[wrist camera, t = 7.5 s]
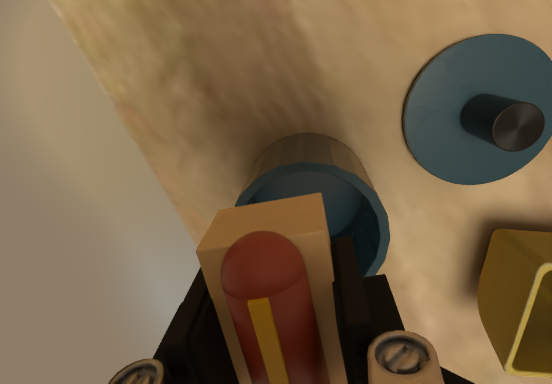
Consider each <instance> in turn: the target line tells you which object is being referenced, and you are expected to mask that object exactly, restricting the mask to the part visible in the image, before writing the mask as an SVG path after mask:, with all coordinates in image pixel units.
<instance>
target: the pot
mask: <svg viewBox="0 0 552 384" xmlns="http://www.w3.org/2000/svg"><path fill="white" fill-rule="evenodd" d="M315 193H321V194H322V199H323V205H324V210H325V216H326V221H327V226H328V232H329V237H330V243H331V244H335V242H334V239H338V238H345V237H352V242H353V246H354V250H355V254H356V258H357V263H358V267H359V271H360V275H361V277H367V276H375V275H376V273H377V272H378V270H379V269H380V267H381V266H382V264H383V263H384V260H385V258H386V254H387V250H388V246H389V242H390V231H389V223H388V216H387V213H386V211H385V209H384V207H383V205H382V203H381V201H380V199H379V197H378V195H377V193H376V191H375V189H374V187H373V185H372V183H371V181H370V179H369V177H368V175H367V173H366V171H365V169H364V167H363V165H362V163H361V161H360V159H359V158H358V157H357V156H356V155H355V153H354V152H353V151H352V150H351V149H350V148H348V147H347V146H346V145H345V144H343V143H342V142H340V141H338V140H336V139H334V138H331V137H329V136H325V135H322V134H315V133H302V134H295V135H291V136H288V137H285V138H283V139H280V140H279V141H277V142H275V143H274V144H272V145H271V146H270V147H268V148H267V149H266V150H265V151H264V152H263V153H262V154H261V155H260V157H259V158H258V159H257V160H256V162H255V164H254V166H253V168H252V170H251V172H250V174H249V177H248V179H247V181H246V183H245V185H244V187H243V189H242V191H241V193H240V196H239V198H238V200H237V202H236V205H235V207H239V206H245V205H251V204H257V203H262V202H268V201H274V200H280V199H286V198H291V197H297V196H303V195H309V194H315Z"/></svg>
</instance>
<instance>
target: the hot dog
mask: <svg viewBox="0 0 552 384" xmlns="http://www.w3.org/2000/svg"><path fill="white" fill-rule="evenodd" d="M330 244H331V243H330V237H329V232H328V226H327V221H326V216H325V210H324V205H323V199H322V194H321V193H315V194H309V195H303V196H297V197H291V198H286V199H280V200H274V201H268V202H262V203H257V204H251V205H245V206H239V207H233V208H228V209H222V210H219V211H218V213H217V215H216V217H215V218H214V220H213V222H212V224H211V225H210V227H209V229H208V231H207V232H206V234H205V236H204V238H203V239H202V241H201V243H200V245H199V246H198V248H197V250H196V253H197V256H198V259H199V262H200V265H201V269H202V272H203V275H204V278H205V281H206V284H207V287H208V290H209V293H210V297H211V298H212V300H213V303H214V306H215V309H216V312H217V315H218V319H219V322H220V325H221V328H222V331H223V334H224V337H225V340H226V344H227V347H228V350H229V353H230V356H231V359H232V362H233V365H234V368H235V372H236V375H237V378H238V381H239V384H348V382H347V377H346V372H345V367H344V362H343V357H342V352H341V346H340V341H339V336H338V330H337V323H336V315H335V306H334V296H333V287H332V282H334V281H335V280H334V272H333V263H332V255H331V247H330Z"/></svg>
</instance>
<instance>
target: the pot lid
mask: <svg viewBox="0 0 552 384" xmlns="http://www.w3.org/2000/svg"><path fill="white" fill-rule="evenodd" d="M403 123H404V133H405V138H406V141H407V144H408V147H409V149H410V151H411V153H412V155H413V156H414V157H415V159H416V160H417V161H418V162H419V164H420V165H421V166H422V167H423V168H424V169H426V170H427V171H428V172H429V173H431V174H432V175H434V176H436V177H438V178H440V179H442V180H445V181H447V182H451V183H455V184H463V185H476V184H485V183H489V182H493V181H496V180H499V179H502V178H504V177H507V176H509V175H511V174H513V173H514V172H516V171H518V170H519V169H521V168H522V167H524V166H525V165H526V164H528V163H529V162H530V161H531V160H532V159H533V158H534V157H535V156H537V154H538V153H539V152H540V151H541V150H542V149H543V148H544V146H545V145H546V143H547V142H548V140H549V139H550V137H551V135H552V61H551V59H550V58H549V57H548V56H547V54H546V53H545V52H544V51H542V50H541V49H540V48H539V47H538V46H536V45H535V44H533V43H532V42H530V41H527V40H525V39H523V38H520V37H516V36H513V35H506V34H487V35H480V36H475V37H472V38H468V39H465V40H463V41H460V42H458V43H456V44H454V45H452V46H450V47H449V48H447V49H445V50H444V51H442V52H441V53H440V54H438V55H437V56H436V57H435V58H434V59H433V60H431V61H430V62H429V63H428V64H427V66H426V67H425V68H424V69H423V70H422V71H421V73H420V74H419V76H418V77H417V79H416V80H415V82H414V84H413V86H412V88H411V90H410V92H409V95H408V97H407V100H406V105H405V109H404V118H403Z"/></svg>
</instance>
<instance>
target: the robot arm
mask: <svg viewBox="0 0 552 384" xmlns="http://www.w3.org/2000/svg"><path fill="white" fill-rule="evenodd" d="M334 242H335V244H330V247H331V255H332V263H333V272H334V280H335V281H334V282H332V287H333V296H334V306H335V315H336V323H337V330H338V336H339V341H340V346H341V352H342V357H343V362H344V367H345V372H346V377H347V382H348V384H474V383H472V382H470V381H468V380H466V379H464V378H462V377H460V376H458V375H456V374H454V373H452V372H450V371H448V370H446V369H444V368H442V367H440V365H439V361H438V357H437V354H436V351H435V349H434V347H433V345H432V344H431V343H430V342H429V341H428V340H427V339H425V338H424V337H422V336H420V335H418V334H416V333H412V332H409V331H405V329H404V326H403V323H402V320H401V317H400V315H399V312H398V309H397V306H396V303H395V300H394V298H393V295H392V292H391V289H390V286H389V283H388V281H387V278H386V275H385V274H382V275H375V276H367V277H361V275H360V271H359V267H358V263H357V258H356V254H355V250H354V246H353V242H352V237H345V238H338V239H334ZM108 384H239V381H238V378H237V375H236V372H235V368H234V365H233V362H232V359H231V356H230V353H229V350H228V347H227V344H226V340H225V337H224V334H223V331H222V328H221V325H220V322H219V319H218V315H217V312H216V309H215V306H214V303H213V300H212V298H211V297H210V293H209V290H208V287H207V284H206V281H205V278H204V275H203V272H202V269H201V267H200V269H199V271H198V273H197V275H196V277H195V279H194V281H193V283H192V285H191V287H190V289H189V291H188V293H187V295H186V297H185V299H184V301H183V302H182V303H181V305H180V306H179V308H178V310H177V312H176V314H175V315H174V317H173V319H172V321H171V323H170V325H169V327H168V330H167V331H166V333H165V335H164V337H163V339H162V341H161V343H160V345H159V347H158V349H157V351H156V353H155V355H154V357H153V359H142V360H139V361H136V362H134V363H132V364H130V365H128V366H126V367H124V368H123V369H122V370H120V371H119V372H118V373H117V374H116V375H115V376H114V377H113V378H112V379H111V380H110V382H109V383H108Z"/></svg>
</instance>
